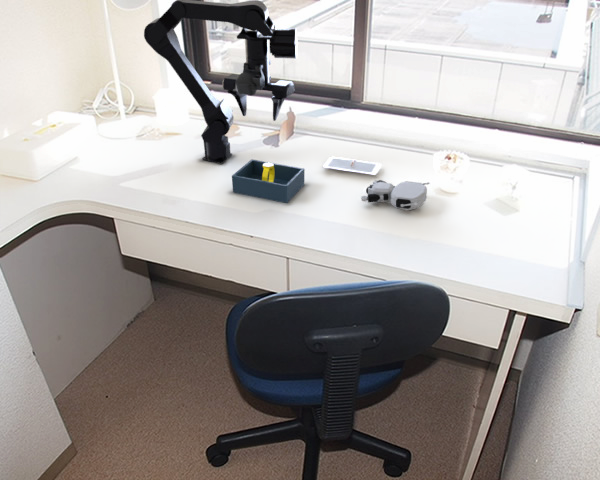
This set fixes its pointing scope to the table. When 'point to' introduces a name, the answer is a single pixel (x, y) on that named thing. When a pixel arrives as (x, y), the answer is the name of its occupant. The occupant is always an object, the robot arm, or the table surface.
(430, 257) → the table surface
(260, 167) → the organiser tray
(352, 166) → the touchpad
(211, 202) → the table surface
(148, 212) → the table surface
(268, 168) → the watch
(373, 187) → the robot toy
